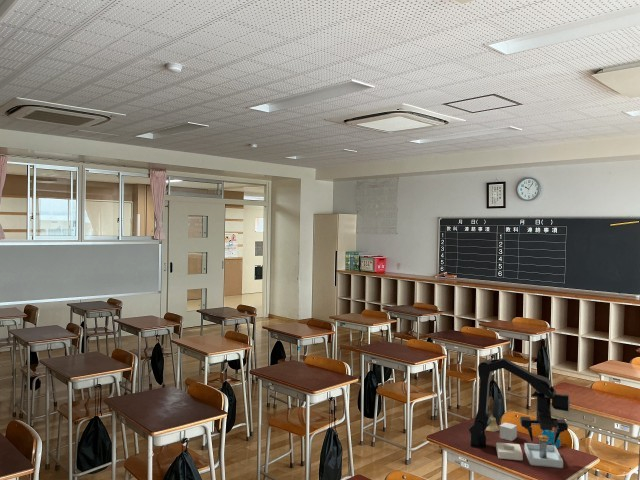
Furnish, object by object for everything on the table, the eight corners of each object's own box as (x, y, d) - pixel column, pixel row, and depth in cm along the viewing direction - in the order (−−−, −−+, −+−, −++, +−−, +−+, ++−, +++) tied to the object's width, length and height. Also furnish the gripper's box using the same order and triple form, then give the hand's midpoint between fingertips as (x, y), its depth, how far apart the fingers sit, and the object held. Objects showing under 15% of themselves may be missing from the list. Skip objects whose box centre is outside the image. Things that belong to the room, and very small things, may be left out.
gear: (551, 447, 237) (539, 426, 244) (542, 453, 241) (531, 432, 247) (567, 446, 242) (556, 425, 249) (558, 451, 246) (547, 431, 252)
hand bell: (479, 429, 263) (480, 397, 263) (486, 424, 270) (486, 393, 269) (496, 433, 258) (496, 401, 258) (502, 428, 264) (502, 396, 264)
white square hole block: (498, 458, 230) (498, 451, 230) (496, 448, 239) (496, 442, 239) (522, 460, 227) (522, 453, 227) (519, 450, 237) (519, 444, 237)
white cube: (511, 441, 248) (511, 428, 248) (499, 438, 252) (499, 425, 252) (516, 437, 253) (516, 425, 252) (504, 434, 257) (504, 422, 257)
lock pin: (538, 458, 228) (538, 438, 227) (536, 454, 232) (536, 434, 232) (549, 459, 227) (549, 439, 226) (547, 455, 231) (547, 435, 231)
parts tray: (530, 465, 223) (530, 458, 223) (524, 449, 239) (524, 443, 238) (563, 468, 220) (563, 461, 220) (555, 452, 236) (555, 445, 236)
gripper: (523, 411, 223) (523, 448, 223) (571, 415, 219) (570, 452, 219) (519, 403, 234) (519, 438, 234) (564, 406, 230) (564, 441, 230)
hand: (543, 442), depth 229 cm, fingers open, 9 cm apart
